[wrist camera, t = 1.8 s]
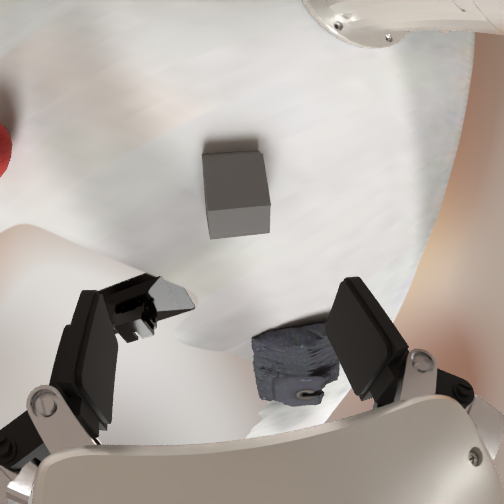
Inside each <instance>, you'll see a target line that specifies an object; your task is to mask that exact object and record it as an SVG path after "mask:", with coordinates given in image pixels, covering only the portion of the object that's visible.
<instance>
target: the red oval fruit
mask: <svg viewBox="0 0 504 504" xmlns="http://www.w3.org/2000/svg"><path fill="white" fill-rule="evenodd" d="M11 151H12V142H11V138H10V134H9V133H8V131H7V129H6V128H5V127H4V126H2V125H1V124H0V177H1V176H2V175H3V173H4V172H5V171H6V169H7V167H8V164H9V161H10V158H11Z"/></svg>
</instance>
